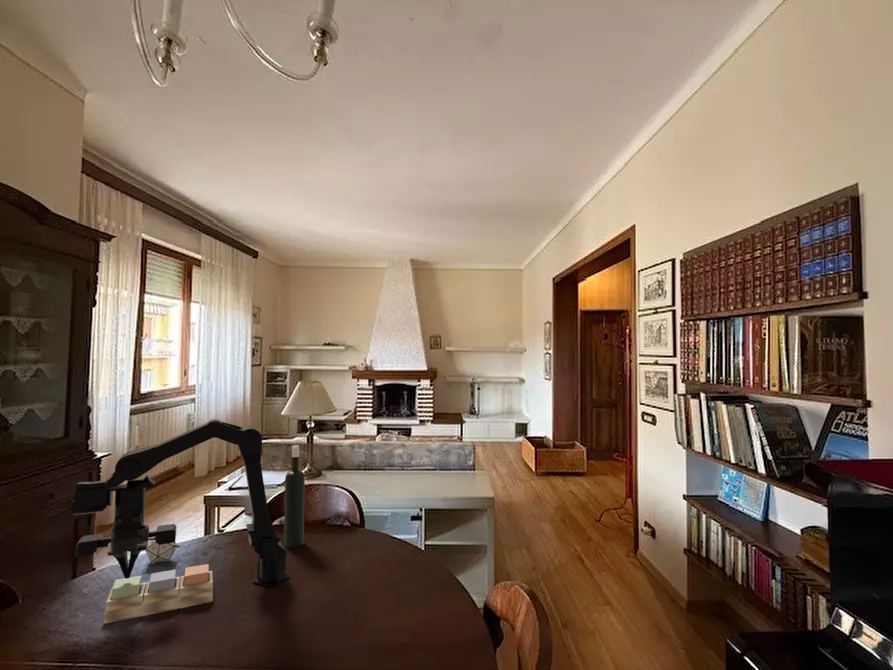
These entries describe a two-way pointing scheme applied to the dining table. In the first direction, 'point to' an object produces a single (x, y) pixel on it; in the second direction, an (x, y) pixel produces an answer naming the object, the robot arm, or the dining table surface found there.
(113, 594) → the sage button
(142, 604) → the console
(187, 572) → the terracotta button
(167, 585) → the slate button
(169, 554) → the game die
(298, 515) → the wine bottle
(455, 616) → the dining table surface
